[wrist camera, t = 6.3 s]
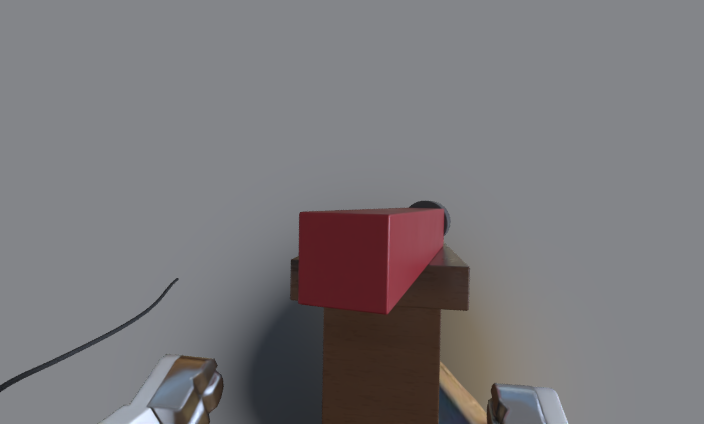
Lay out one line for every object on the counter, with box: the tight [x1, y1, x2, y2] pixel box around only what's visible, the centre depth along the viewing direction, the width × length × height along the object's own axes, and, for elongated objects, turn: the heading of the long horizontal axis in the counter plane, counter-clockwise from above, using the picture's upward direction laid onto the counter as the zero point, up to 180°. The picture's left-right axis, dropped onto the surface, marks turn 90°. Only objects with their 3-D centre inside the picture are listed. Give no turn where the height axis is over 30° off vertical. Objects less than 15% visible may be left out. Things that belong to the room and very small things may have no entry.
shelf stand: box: [290, 242, 470, 424], centre depth 27 cm, size 14×12×26 cm
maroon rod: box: [298, 201, 450, 315], centre depth 21 cm, size 22×4×4 cm, turn 161°
